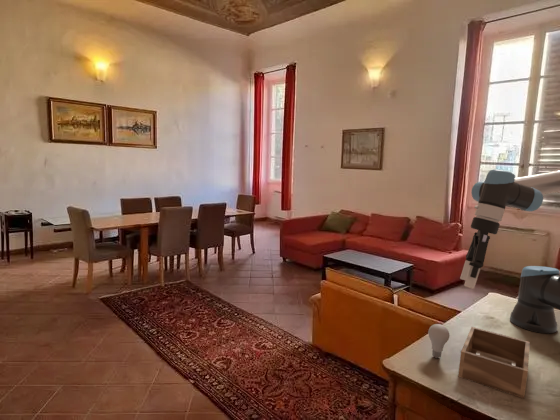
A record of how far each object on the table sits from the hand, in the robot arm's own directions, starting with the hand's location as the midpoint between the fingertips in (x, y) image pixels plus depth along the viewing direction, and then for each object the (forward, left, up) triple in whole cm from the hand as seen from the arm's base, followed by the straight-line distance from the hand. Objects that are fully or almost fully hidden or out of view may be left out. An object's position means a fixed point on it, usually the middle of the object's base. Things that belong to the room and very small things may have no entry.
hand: (466, 283), depth 116 cm
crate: (-4, +11, -23) cm, 26 cm away
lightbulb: (+9, +2, -24) cm, 25 cm away
